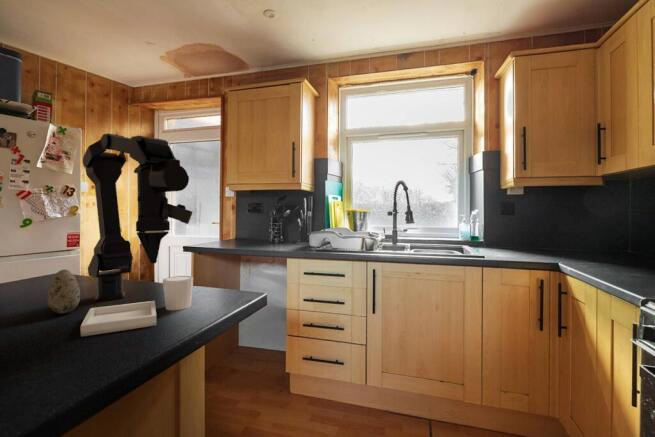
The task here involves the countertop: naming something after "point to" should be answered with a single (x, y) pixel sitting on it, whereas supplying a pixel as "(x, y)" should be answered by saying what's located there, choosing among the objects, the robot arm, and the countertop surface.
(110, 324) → the tray
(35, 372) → the countertop surface
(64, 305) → the decorative egg
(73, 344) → the countertop surface
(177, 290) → the white cup
